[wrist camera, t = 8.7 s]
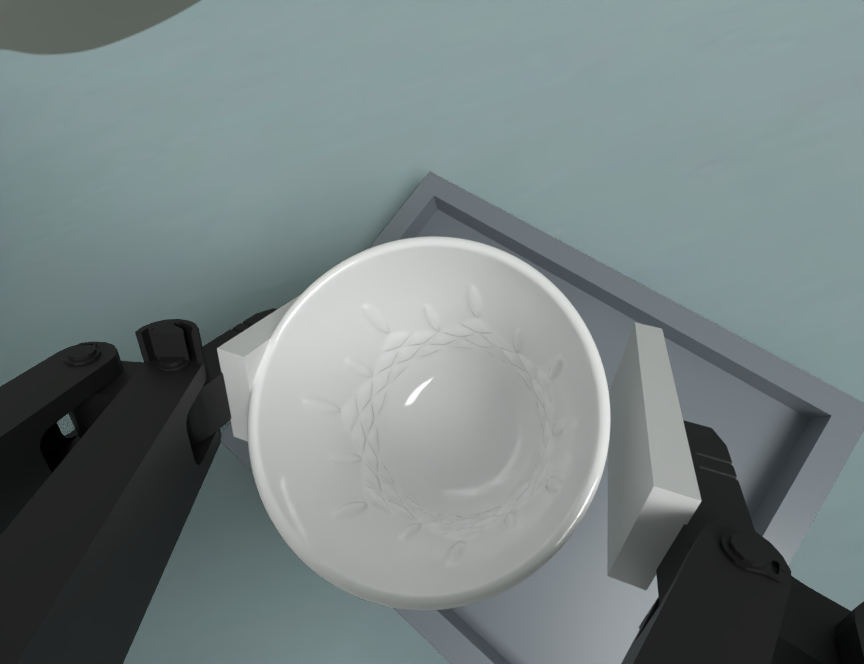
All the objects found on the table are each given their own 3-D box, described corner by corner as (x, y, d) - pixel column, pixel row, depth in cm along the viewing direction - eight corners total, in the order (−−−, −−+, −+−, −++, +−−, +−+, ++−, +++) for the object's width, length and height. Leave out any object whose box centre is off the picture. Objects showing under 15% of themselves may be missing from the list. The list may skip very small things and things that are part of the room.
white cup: (388, 340, 20) (282, 235, 11) (560, 348, 19) (608, 234, 10) (365, 519, 18) (209, 577, 9) (558, 544, 17) (615, 647, 7)
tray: (241, 440, 21) (217, 438, 19) (435, 192, 23) (429, 171, 21) (620, 798, 15) (634, 841, 13) (839, 414, 17) (875, 409, 15)
